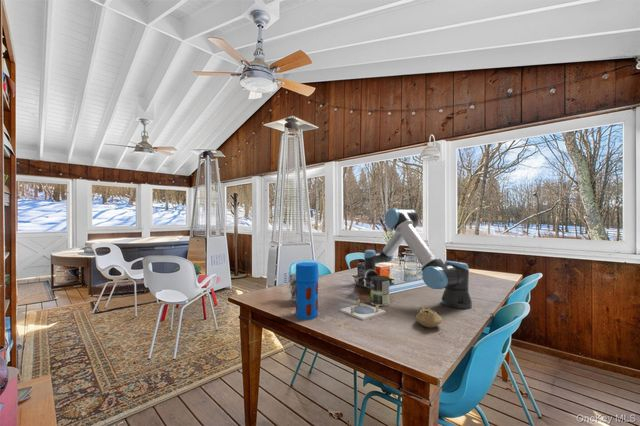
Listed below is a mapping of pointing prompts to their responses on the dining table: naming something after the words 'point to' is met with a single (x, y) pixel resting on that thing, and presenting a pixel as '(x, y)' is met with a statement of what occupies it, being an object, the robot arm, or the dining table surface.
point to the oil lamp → (428, 318)
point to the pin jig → (362, 311)
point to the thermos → (306, 290)
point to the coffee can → (379, 290)
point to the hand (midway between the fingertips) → (377, 284)
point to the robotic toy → (293, 285)
